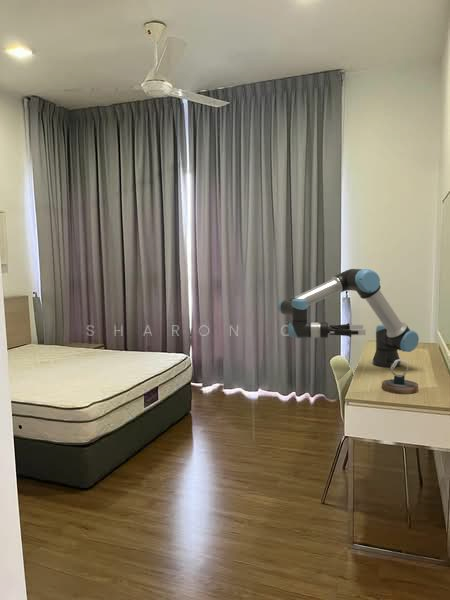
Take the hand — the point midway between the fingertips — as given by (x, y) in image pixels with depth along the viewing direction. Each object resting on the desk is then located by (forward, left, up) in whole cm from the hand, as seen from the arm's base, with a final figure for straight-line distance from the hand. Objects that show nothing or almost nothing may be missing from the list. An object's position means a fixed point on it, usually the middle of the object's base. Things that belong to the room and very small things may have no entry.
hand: (364, 329), depth 232 cm
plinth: (-4, +17, -27) cm, 32 cm away
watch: (-4, +16, -24) cm, 29 cm away
